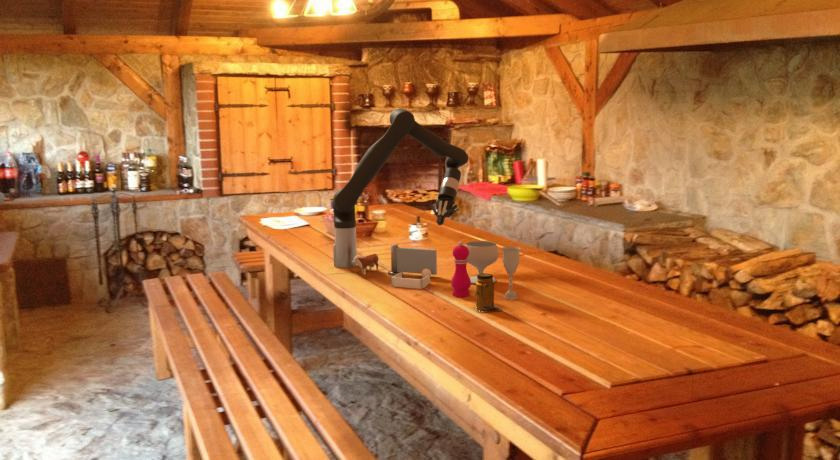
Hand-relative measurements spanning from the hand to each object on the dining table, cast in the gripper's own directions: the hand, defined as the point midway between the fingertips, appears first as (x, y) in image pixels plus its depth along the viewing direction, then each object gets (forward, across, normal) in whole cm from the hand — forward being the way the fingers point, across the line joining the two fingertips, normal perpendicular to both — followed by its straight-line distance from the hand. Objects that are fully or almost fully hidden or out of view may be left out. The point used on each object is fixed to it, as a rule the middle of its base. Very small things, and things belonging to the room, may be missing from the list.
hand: (439, 224), depth 300 cm
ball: (+27, +2, -2) cm, 27 cm away
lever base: (+25, -14, 0) cm, 28 cm away
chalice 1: (+25, +24, +1) cm, 34 cm away
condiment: (+48, +38, -26) cm, 67 cm away
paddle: (+24, -5, -1) cm, 24 cm away
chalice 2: (+38, +41, -14) cm, 57 cm away
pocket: (+34, 0, -11) cm, 36 cm away
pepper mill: (+39, +24, -16) cm, 48 cm away
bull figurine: (+26, -25, -2) cm, 37 cm away
